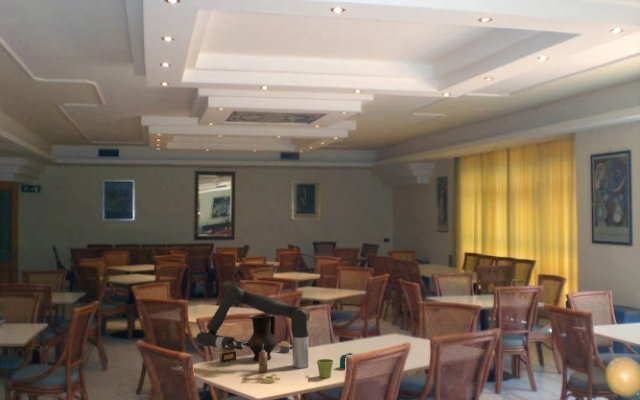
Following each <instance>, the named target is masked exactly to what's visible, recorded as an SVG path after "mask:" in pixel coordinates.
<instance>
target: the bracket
mask: <svg viewBox="0 0 640 400" xmlns="http://www.w3.org/2000/svg"><path fill="white" fill-rule="evenodd" d="M353 354H354V353H353V352H349V353H346V354H343V355H341V356H340V359H339V368H340V369H345V358H346V356H348V355H353Z"/></svg>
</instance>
